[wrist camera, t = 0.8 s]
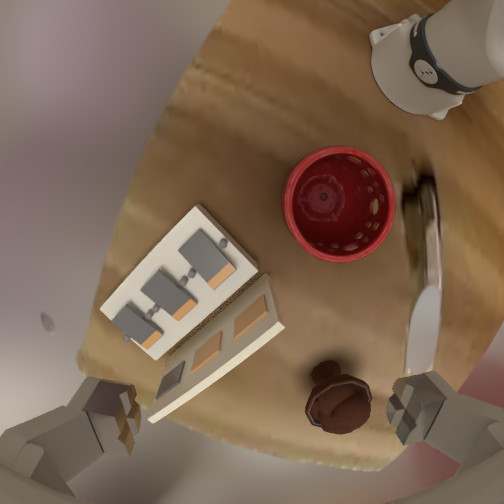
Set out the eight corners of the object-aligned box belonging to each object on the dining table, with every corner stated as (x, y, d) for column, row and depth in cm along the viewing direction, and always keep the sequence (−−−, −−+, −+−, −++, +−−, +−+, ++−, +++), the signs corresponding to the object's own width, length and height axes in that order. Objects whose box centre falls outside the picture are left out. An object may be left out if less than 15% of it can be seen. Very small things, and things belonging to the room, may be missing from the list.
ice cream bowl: (294, 354, 48) (312, 414, 33) (356, 343, 48) (390, 396, 34) (296, 398, 51) (311, 457, 36) (352, 387, 51) (379, 441, 36)
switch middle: (159, 268, 38) (158, 271, 37) (197, 301, 40) (197, 304, 39) (141, 287, 38) (140, 291, 37) (178, 318, 41) (178, 321, 40)
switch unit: (199, 203, 41) (174, 218, 26) (270, 276, 44) (285, 327, 29) (109, 299, 45) (62, 347, 29) (174, 358, 48) (153, 423, 32)
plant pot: (319, 135, 40) (347, 120, 28) (374, 201, 42) (416, 210, 31) (253, 195, 42) (258, 201, 30) (314, 259, 44) (338, 287, 32)
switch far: (126, 303, 39) (125, 306, 38) (163, 332, 41) (163, 335, 41) (112, 319, 39) (110, 322, 39) (148, 346, 42) (147, 350, 41)
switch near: (200, 228, 38) (198, 229, 37) (237, 269, 38) (236, 270, 37) (179, 249, 38) (177, 250, 38) (215, 288, 39) (213, 290, 38)
